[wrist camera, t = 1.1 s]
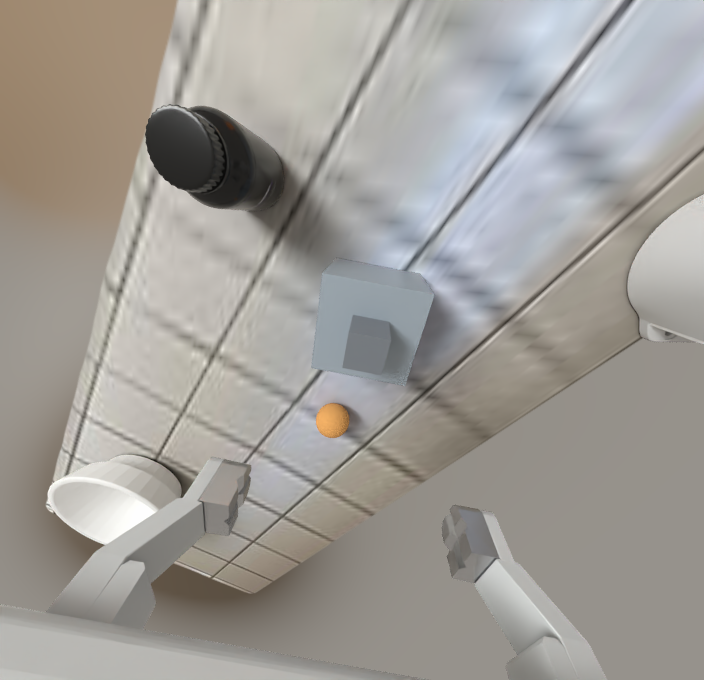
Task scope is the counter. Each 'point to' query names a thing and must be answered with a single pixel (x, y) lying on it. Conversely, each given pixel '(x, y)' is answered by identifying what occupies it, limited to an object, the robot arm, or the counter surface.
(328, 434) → the ball
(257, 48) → the counter surface
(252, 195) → the supplement bottle
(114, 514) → the bowl
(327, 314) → the grey block with knob
